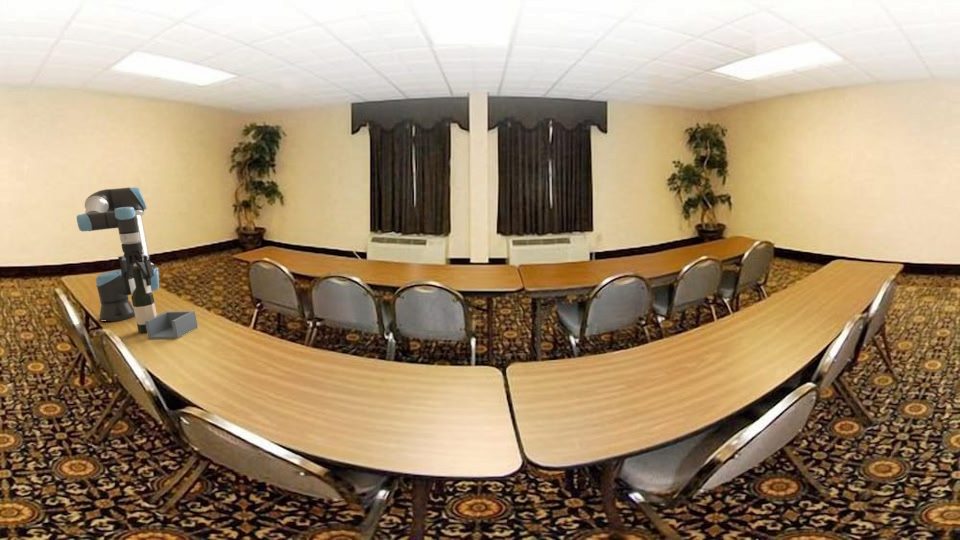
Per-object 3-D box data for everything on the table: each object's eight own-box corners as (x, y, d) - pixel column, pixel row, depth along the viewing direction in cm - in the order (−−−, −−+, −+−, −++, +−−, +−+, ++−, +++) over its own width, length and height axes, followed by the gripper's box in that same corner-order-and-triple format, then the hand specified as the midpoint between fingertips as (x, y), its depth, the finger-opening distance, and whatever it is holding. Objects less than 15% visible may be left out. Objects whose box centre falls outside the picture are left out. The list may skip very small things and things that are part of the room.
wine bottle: (150, 333, 246) (136, 268, 239) (134, 333, 248) (120, 268, 241) (163, 327, 254) (151, 264, 247) (148, 327, 256) (135, 264, 249)
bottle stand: (169, 328, 253) (166, 311, 251) (197, 327, 251) (194, 310, 249) (148, 338, 239) (144, 321, 237) (178, 338, 237) (174, 321, 236)
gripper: (104, 244, 239) (115, 295, 244) (145, 243, 236) (155, 294, 242) (117, 241, 246) (127, 290, 251) (157, 240, 244) (166, 290, 249)
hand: (141, 292), depth 247 cm, fingers open, 6 cm apart
